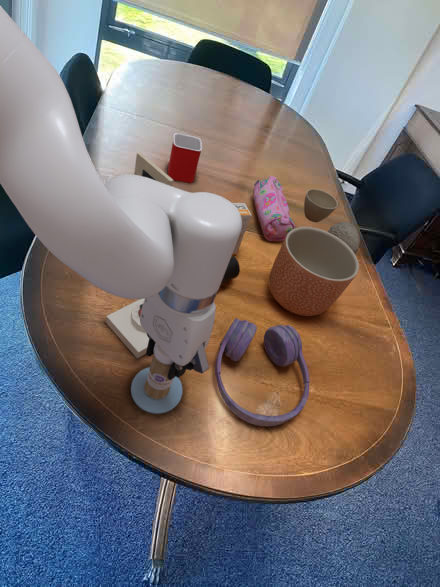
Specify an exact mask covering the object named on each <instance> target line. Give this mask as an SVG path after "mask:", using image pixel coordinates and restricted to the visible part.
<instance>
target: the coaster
mask: <svg viewBox="0 0 440 587" xmlns="http://www.w3.org/2000/svg"><path fill="white" fill-rule="evenodd" d="M149 368H150V366H148V367H146V368H143V369H141V370H140V371H139V372H138V373H136V375H135V376H134V377H133V379H132V382H131V385H130V394H131V398H132V400H133V402H134V403H135V405H136V406H137V407H138V408H139V409H141V410H143V411H144V412H146V413H149V414H153V415H154V414H156V415H160V414H161V415H162V414H165V413H168V412H170V411H172V410H174V409H175V408H176V407H177V405H179V403H180V402H181V399H182V396H183V385H182V384H183V383H182V382H181V380H180V377H179V378H177V377H174V379H173V382H172V384H171V386H170V391H169V393H168V394H167V396H166V397H164V398H161V399H153V398H151V397H149V396H148V395H147V394H146V392H145V389H144V385H145V382H146V380H147V375H148V372H149Z"/></svg>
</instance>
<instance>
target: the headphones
mask: <svg viewBox="0 0 440 587" xmlns="http://www.w3.org/2000/svg"><path fill="white" fill-rule="evenodd" d="M257 329H258V327H257V325H256V324H255V323H254V322H250V321H249V320H247V319H243V320H241V319H239V318H237V317H235V318H234V320H233V321H232V323H231V325H230V326H229V328H228V329H227V331H226V333H225V335H224V337H223V338H222V340H221V342H220V343H219V349H218V352H217V355H216V359H215V364H214V375H215V380H216V386H217V388H218V392H219V394H220V396H221V399H222V400H223V402H224V404H225V405H226V406H227V407H228V408H229V410H230V411H231V412H232V413H233V414H234V415H235V416H237V417H238V418H239V419H241V420H242V421H244V422H246V423H248V424H250V425H254V426H256V427H257V426H259V427H275V426H279V425H283V424H284V423H286V422H288V421H290V420H291V419H293V418H294V417H296V416H297V415H298V414H299V413H300V412H301V411H302V410H303V409H304V408H305V406H306V403H307V402H308V399H309V396H310V382H311V380H310V379H311V378H310V373H309V368H308V366H307V365H308V364H307V362H306V360H305V357H304V355H303V341H302V338H301V335H300V333H299V332H298V331H297V329H296V328H295V327H293V326H292V325H289V324H286V325H284V324H278V325H273V326H270V327H268V328H267V329H266V331H265V333H264V334H263V344H264V350H265V351H266V354H267V356H268V357H269V359H270V361H272V362H273V363H274V364H275V365H276V366H278V367H288V366H290V365H291V364H292V363H294V362H297V364H298V367H299V369H300V373H301V377H302V384H303V385H304V387H303V391H302V396H301V399H300V400H299V402H298V404H297V405H296V406H295V407H294V408H293V409H291V411H288V412H286V413H284V414H280V415H264V414H258V413H255V412H252V411H250V410H247V409H245V408H243V407H242V406H240V405H239V404H238V403H236V401H235V400H233V398H232V397H231V396H230V395H229V393H228V392H227V390H226V388H225V386H224V384H223V380H222V377H221V372H222V370H221V367H222V365H221V364H222V357H223V354H224V355H225V356H226V357H228V358H229V359H230V360H231V361H233V362H238V361H240V360H241V358H242V357H243V355H244V354H245V352H246V351H247V349H248V347H249V346H250V344H251V342H252V340H253V338H254V336H255V335H256V332H257V331H258V330H257Z"/></svg>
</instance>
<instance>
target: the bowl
mask: <svg viewBox="0 0 440 587" xmlns="http://www.w3.org/2000/svg"><path fill="white" fill-rule="evenodd" d="M338 203H339V202H338V201H337V199H336V198H335V197H334V196H333V195H332V194H331V193H329V192H327V191H325V190H322V189H319V188H310V189H308V190H307V191H306V193H305V196H304V202H303V212H304V217H305V218H306V219H307V220H308V221H310V222H312V223H319V222H322V221H323V220H325V219H326V218H328V217H329V216H330V215H332V213H333V212H334V211H335V210H336V209H337V207H338V206H339V204H338Z"/></svg>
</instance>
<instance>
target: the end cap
mask: <svg viewBox="0 0 440 587" xmlns="http://www.w3.org/2000/svg"><path fill="white" fill-rule="evenodd" d="M240 273H241V266H240V264H239V261H238V259H237V258H236V256H235V255H232V256H231V259H230V261H229V264H228V266H227V269H226V271H225V274H224V276H223V279H222V281H221V284H220V286H221V285H223V284H225V283H228V282H229V281H232V280H234V279H237V277H239V275H240Z"/></svg>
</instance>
